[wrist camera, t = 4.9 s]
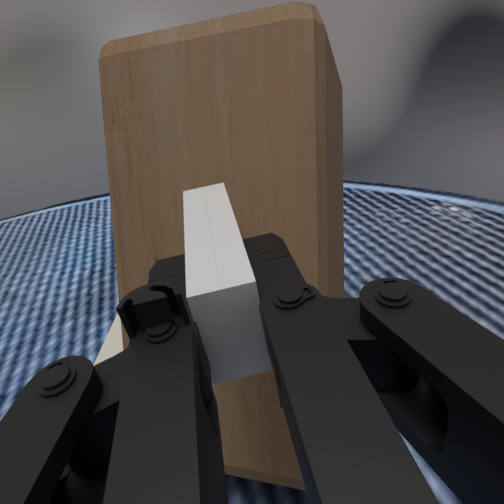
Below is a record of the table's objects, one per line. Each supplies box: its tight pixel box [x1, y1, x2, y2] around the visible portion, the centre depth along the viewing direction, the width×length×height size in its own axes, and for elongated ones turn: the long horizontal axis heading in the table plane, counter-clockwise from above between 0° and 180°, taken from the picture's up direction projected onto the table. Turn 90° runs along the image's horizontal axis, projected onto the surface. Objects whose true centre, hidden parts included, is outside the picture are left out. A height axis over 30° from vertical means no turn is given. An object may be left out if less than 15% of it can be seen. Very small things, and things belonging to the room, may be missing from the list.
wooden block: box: [99, 2, 344, 491], centre depth 20 cm, size 10×10×20 cm
